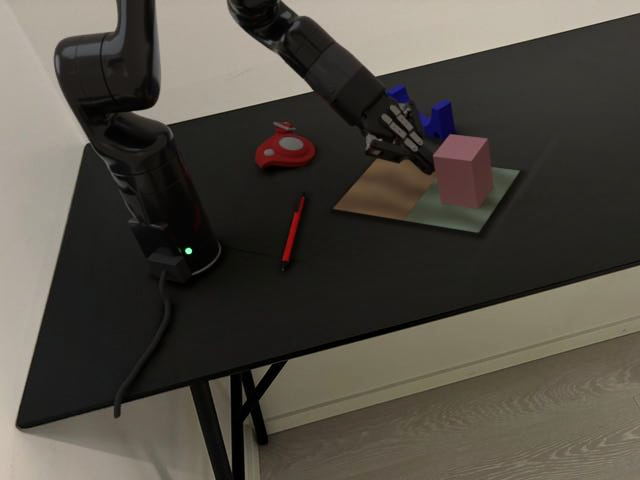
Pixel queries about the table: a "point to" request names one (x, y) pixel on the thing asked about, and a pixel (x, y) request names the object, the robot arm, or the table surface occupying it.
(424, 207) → the multicoloured piece
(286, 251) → the pen
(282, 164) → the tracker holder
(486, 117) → the table surface
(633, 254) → the table surface
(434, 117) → the blue curved block
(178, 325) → the table surface
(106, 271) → the table surface
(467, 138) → the pink block
